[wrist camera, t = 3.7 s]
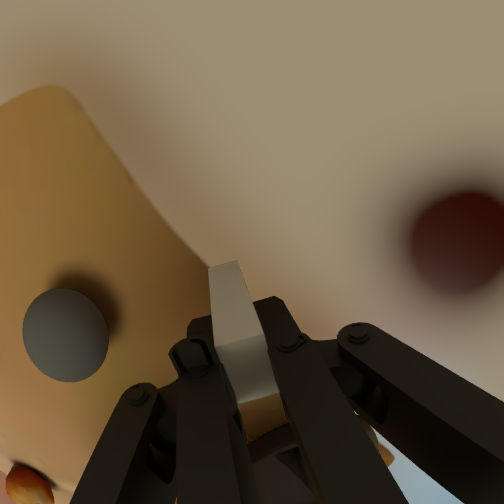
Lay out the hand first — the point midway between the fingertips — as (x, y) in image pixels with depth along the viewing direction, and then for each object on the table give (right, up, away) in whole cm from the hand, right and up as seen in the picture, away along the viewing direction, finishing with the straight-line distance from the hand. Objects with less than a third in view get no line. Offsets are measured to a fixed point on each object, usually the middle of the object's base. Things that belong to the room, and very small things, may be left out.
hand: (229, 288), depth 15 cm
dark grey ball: (-10, -3, -1) cm, 10 cm away
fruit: (-31, -31, +7) cm, 45 cm away
